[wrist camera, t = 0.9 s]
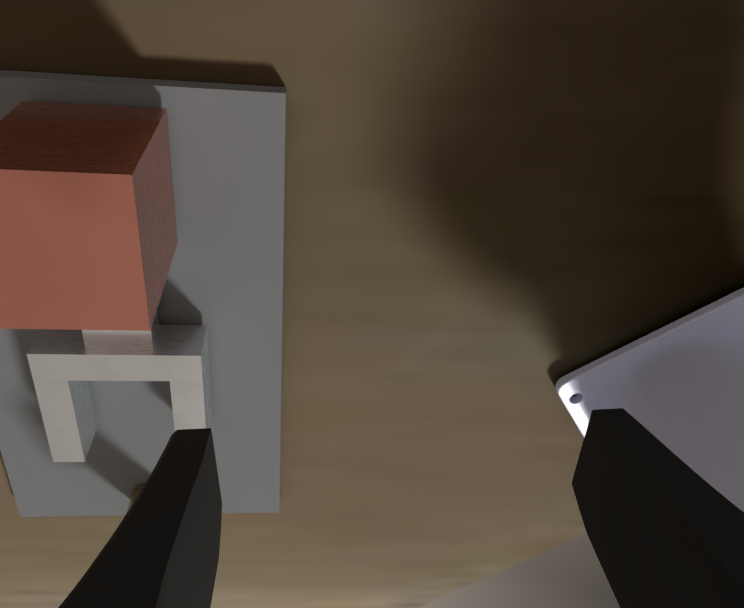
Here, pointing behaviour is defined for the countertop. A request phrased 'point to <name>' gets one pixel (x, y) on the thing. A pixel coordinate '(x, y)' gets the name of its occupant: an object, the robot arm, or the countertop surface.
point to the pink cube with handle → (93, 262)
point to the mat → (176, 304)
